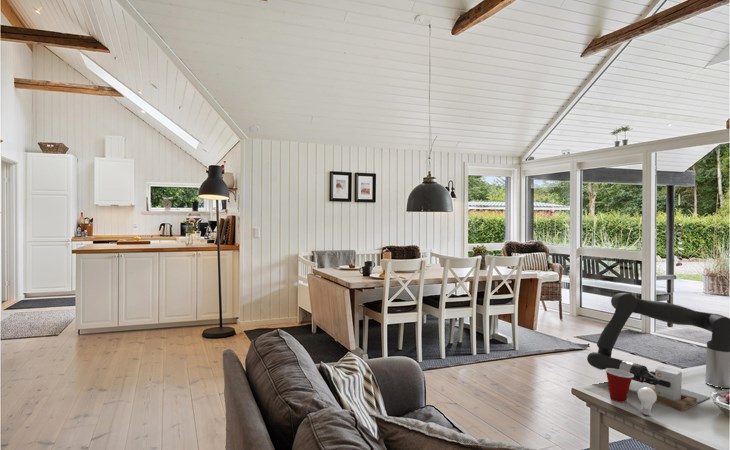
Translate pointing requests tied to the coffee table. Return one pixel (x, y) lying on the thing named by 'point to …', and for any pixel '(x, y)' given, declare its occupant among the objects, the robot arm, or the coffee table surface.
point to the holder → (678, 405)
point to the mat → (695, 395)
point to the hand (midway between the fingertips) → (674, 383)
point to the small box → (675, 385)
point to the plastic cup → (618, 383)
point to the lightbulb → (647, 399)
